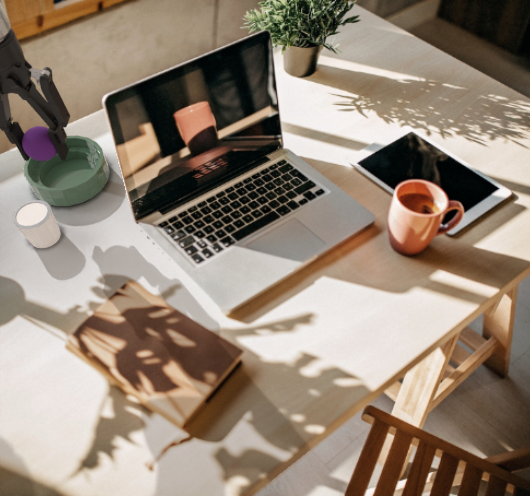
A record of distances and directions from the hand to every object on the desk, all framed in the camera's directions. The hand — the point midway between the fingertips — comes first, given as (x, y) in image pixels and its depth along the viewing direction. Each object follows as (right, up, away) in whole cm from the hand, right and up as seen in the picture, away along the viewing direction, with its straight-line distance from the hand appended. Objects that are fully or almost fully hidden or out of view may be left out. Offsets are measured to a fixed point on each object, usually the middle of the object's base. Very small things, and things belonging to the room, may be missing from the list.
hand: (46, 154), depth 89 cm
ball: (0, +2, -2) cm, 3 cm away
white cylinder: (-2, -15, +6) cm, 16 cm away
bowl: (-1, -2, +14) cm, 14 cm away
